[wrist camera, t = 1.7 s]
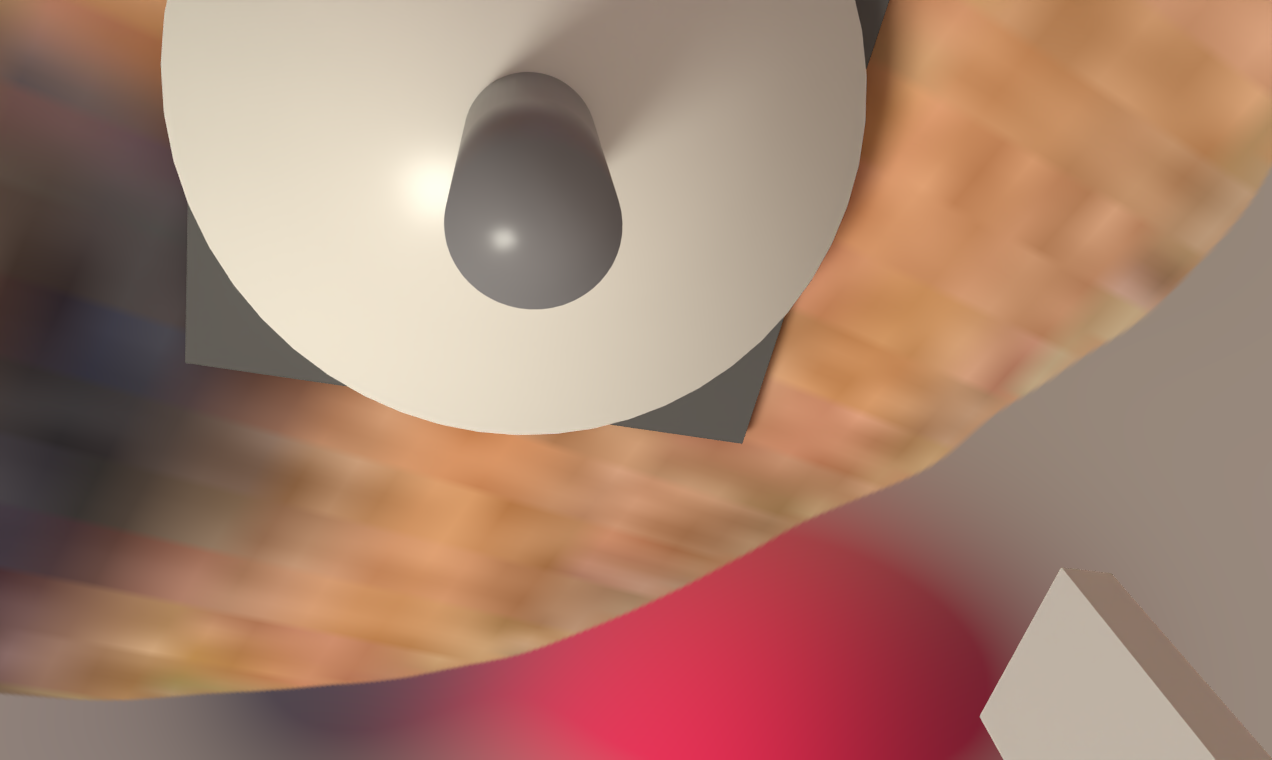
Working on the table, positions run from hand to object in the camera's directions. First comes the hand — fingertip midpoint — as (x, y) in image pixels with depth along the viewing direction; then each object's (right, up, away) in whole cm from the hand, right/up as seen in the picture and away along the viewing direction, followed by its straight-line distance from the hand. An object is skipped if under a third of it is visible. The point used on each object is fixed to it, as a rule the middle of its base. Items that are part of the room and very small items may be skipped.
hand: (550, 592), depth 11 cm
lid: (-3, +11, +21) cm, 24 cm away
